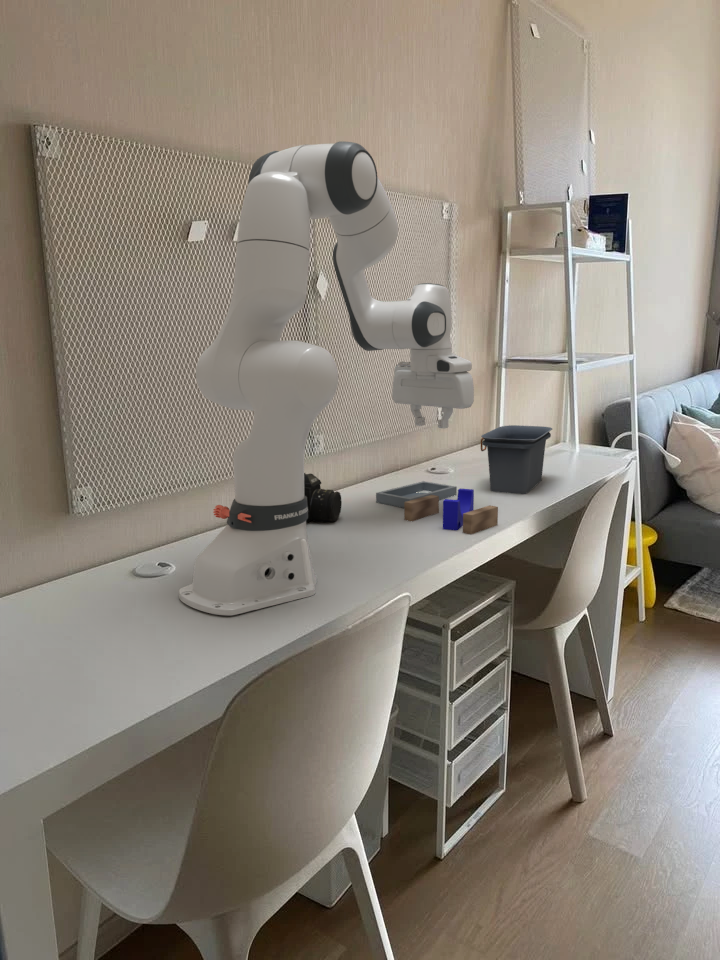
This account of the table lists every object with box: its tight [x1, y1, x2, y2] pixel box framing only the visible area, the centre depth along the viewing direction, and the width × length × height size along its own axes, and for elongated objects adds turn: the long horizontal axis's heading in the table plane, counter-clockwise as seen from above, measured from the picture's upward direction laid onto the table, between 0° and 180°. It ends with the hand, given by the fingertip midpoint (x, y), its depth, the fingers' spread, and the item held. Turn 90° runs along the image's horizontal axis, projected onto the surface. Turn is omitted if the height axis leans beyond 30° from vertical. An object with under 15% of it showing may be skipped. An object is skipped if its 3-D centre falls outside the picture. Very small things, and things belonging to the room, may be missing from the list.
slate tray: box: [375, 480, 458, 509], centre depth 174 cm, size 17×10×2 cm, turn 136°
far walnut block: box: [403, 495, 440, 522], centre depth 159 cm, size 9×2×4 cm, turn 136°
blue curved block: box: [442, 487, 475, 532], centre depth 154 cm, size 12×4×6 cm, turn 157°
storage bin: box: [480, 424, 553, 495], centre depth 184 cm, size 21×16×14 cm
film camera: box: [304, 472, 343, 524], centre depth 157 cm, size 18×12×10 cm
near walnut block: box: [462, 504, 499, 535], centre depth 149 cm, size 9×2×4 cm, turn 136°
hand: (431, 426), depth 163 cm, fingers open, 5 cm apart
